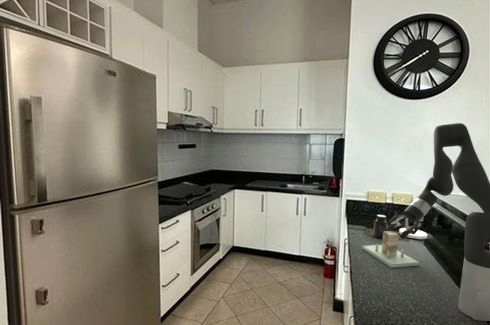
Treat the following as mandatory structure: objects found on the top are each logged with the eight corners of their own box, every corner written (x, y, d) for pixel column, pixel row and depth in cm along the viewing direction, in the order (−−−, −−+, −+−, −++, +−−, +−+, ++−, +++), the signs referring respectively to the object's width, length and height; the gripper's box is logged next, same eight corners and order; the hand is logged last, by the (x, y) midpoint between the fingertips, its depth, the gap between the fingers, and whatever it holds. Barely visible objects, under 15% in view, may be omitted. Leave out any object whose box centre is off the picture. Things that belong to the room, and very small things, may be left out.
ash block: (396, 255, 134) (398, 234, 132) (388, 255, 132) (390, 234, 131) (389, 251, 138) (391, 230, 137) (381, 251, 137) (383, 231, 136)
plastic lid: (412, 241, 157) (413, 237, 157) (393, 232, 170) (393, 228, 170) (433, 240, 161) (433, 235, 160) (412, 231, 174) (413, 227, 174)
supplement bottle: (388, 236, 162) (390, 216, 161) (384, 239, 157) (386, 218, 156) (375, 233, 167) (377, 213, 166) (371, 236, 162) (373, 215, 161)
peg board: (418, 265, 127) (419, 255, 126) (391, 267, 124) (392, 257, 123) (386, 247, 146) (387, 238, 146) (362, 248, 143) (363, 240, 143)
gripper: (401, 201, 142) (379, 224, 140) (425, 208, 128) (401, 234, 127) (409, 211, 144) (387, 234, 142) (434, 219, 130) (410, 245, 128)
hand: (394, 234), depth 134 cm, fingers open, 8 cm apart
